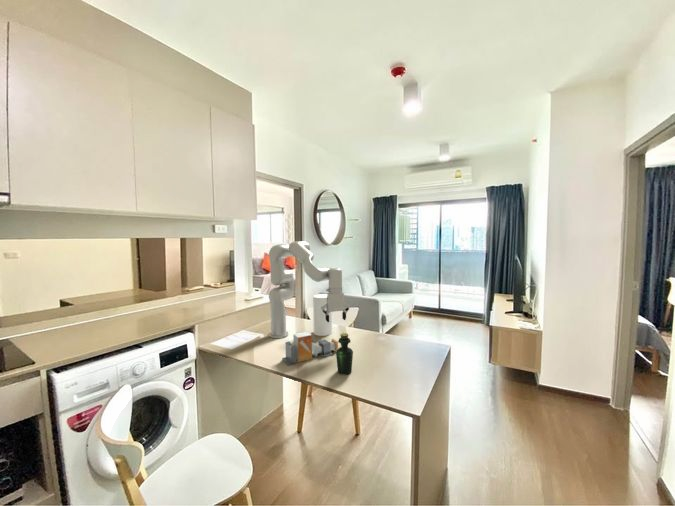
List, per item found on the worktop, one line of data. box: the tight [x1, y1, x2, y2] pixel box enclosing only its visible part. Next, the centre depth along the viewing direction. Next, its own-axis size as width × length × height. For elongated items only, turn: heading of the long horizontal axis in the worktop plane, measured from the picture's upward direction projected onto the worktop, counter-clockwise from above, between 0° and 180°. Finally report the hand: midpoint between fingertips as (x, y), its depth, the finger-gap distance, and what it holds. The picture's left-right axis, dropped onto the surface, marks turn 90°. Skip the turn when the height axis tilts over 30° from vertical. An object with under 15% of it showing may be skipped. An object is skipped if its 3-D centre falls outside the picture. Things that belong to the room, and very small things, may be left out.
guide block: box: [317, 339, 333, 358], centre depth 156 cm, size 9×5×6 cm, turn 31°
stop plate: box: [281, 341, 296, 367], centre depth 145 cm, size 8×4×9 cm, turn 31°
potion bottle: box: [335, 332, 354, 376], centre depth 134 cm, size 8×8×18 cm
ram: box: [312, 338, 339, 358], centre depth 156 cm, size 6×14×6 cm, turn 121°
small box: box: [293, 331, 313, 363], centre depth 149 cm, size 8×6×13 cm
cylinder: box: [312, 293, 333, 337], centre depth 189 cm, size 12×12×25 cm
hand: (335, 320), depth 159 cm, fingers open, 9 cm apart
